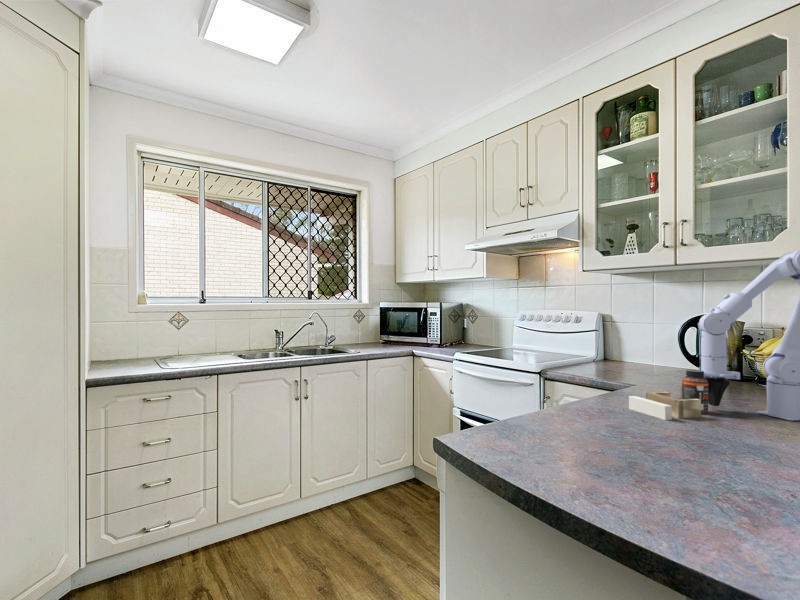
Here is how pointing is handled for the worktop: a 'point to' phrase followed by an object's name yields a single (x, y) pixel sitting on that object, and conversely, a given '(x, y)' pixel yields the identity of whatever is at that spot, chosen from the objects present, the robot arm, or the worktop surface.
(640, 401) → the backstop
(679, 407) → the cradle
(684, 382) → the supplement bottle
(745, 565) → the worktop surface
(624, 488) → the worktop surface
